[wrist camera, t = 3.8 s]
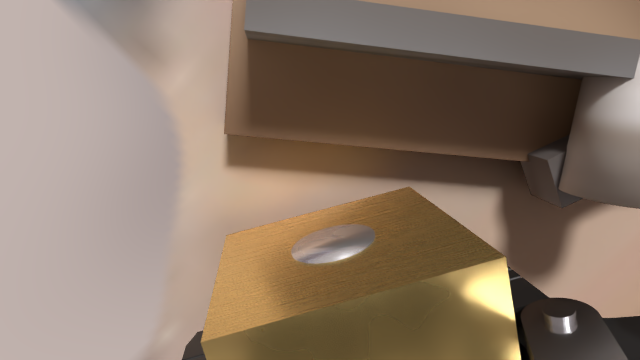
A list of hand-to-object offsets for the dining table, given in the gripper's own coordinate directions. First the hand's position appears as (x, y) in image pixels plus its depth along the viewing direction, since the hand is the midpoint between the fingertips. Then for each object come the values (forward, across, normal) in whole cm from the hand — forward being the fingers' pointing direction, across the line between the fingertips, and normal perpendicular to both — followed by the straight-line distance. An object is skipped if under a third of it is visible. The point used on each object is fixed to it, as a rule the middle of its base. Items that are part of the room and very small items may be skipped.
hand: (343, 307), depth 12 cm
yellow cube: (+1, 0, 0) cm, 1 cm away
